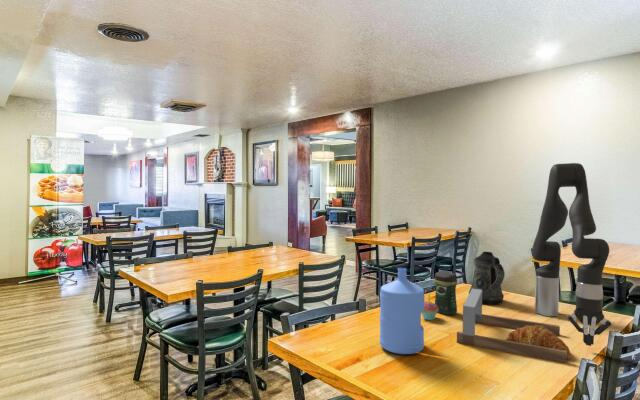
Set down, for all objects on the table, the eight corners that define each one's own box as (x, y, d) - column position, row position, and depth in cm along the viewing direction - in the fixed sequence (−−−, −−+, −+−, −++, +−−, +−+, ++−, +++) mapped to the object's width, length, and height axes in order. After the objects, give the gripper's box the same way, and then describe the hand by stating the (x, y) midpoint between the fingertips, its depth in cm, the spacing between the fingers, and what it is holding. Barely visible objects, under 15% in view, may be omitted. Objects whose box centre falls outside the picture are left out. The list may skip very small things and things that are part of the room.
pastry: (502, 344, 136) (502, 323, 136) (515, 335, 145) (515, 315, 145) (568, 364, 121) (568, 339, 121) (578, 352, 130) (579, 330, 129)
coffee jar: (459, 313, 171) (460, 273, 170) (449, 316, 166) (450, 275, 165) (441, 308, 178) (441, 269, 178) (431, 311, 173) (431, 271, 173)
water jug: (398, 358, 124) (399, 275, 123) (371, 342, 137) (371, 266, 137) (433, 350, 131) (434, 270, 130) (404, 334, 145) (404, 263, 144)
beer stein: (478, 294, 203) (478, 248, 203) (515, 302, 188) (516, 253, 188) (462, 299, 193) (463, 251, 192) (500, 308, 178) (501, 256, 177)
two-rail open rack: (466, 319, 162) (467, 287, 162) (559, 334, 146) (559, 299, 145) (456, 342, 137) (457, 304, 137) (566, 363, 121) (567, 320, 121)
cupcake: (439, 322, 159) (439, 294, 159) (419, 320, 161) (419, 293, 160) (437, 315, 167) (437, 289, 167) (417, 314, 169) (418, 288, 169)
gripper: (610, 295, 130) (609, 344, 130) (565, 290, 136) (564, 337, 136) (615, 301, 123) (614, 352, 123) (567, 295, 129) (566, 345, 130)
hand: (588, 344), depth 130 cm, fingers closed
